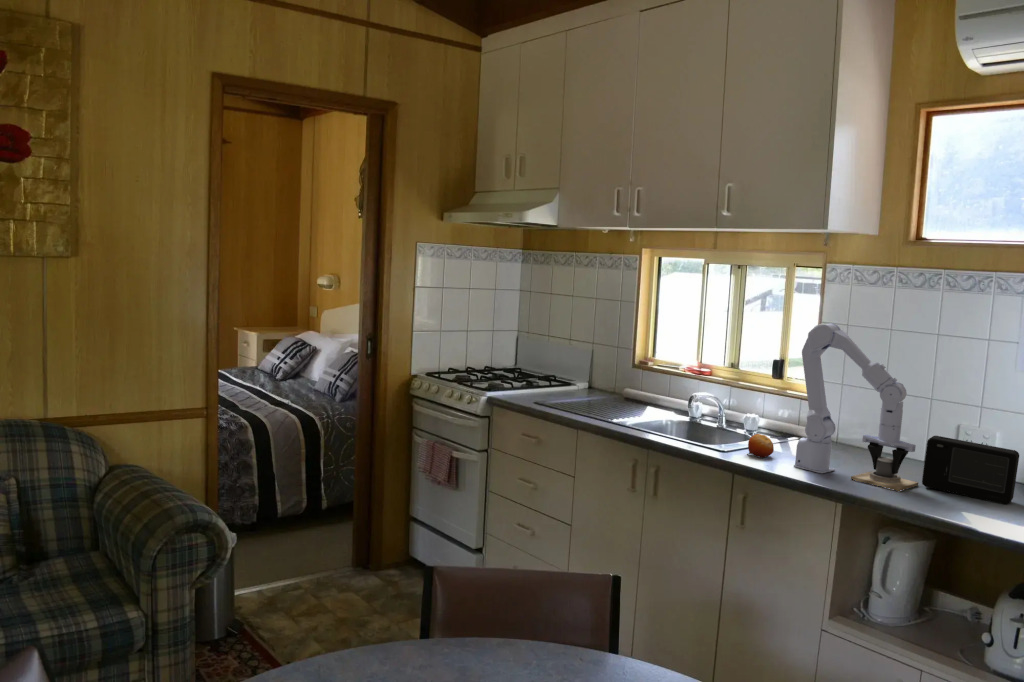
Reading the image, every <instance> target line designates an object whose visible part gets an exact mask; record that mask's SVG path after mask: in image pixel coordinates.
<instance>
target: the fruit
mask: <svg viewBox="0 0 1024 682" xmlns="http://www.w3.org/2000/svg"><path fill="white" fill-rule="evenodd" d="M747 447H748V453H747V454H746V455H747V456H748V455H752V456H754V457H756V458H760V459H764V458H766V457H770V456H772V454H773V453H774V443H773V441H772V440H771V438H769V437H767V435H765V434H761V433H756V434H754V435H751V437H750V438H749V439H748V442H747Z"/></svg>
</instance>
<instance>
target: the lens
mask: <svg viewBox="0 0 1024 682" xmlns="http://www.w3.org/2000/svg"><path fill="white" fill-rule="evenodd" d="M892 467H893V457H889V456H881V457H878V459H877V463H876V470H875V471H876V474H875V475H877V476H882V477H888V478H894V474H892Z"/></svg>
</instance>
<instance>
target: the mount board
mask: <svg viewBox="0 0 1024 682" xmlns="http://www.w3.org/2000/svg"><path fill="white" fill-rule="evenodd" d="M875 474H876V470H872V471H867V472H863V473H859V474H856V475H851V476H850V480H851V479H853V480H852V481H854V480H856V481H855V482H858V481H860V482H859V483H862V482H865V483H864V484H866V483H869V484H868V485H870V484H873V485H872V486H874V485H877V486H876V487H878V486H882V487H886V488H890V489H894V490H897V491H896V492H898V491H900V490H903V489H906V490H908V489H907V488H910V489H912V488H911V487H913V488H915V487H914V486H916V487H919V482H917V481H914V480H909V479H905V478H902V477H901V475H899V474H898V473H897V474H894V478H888V477H882V476H877V475H875ZM882 487H881V488H882ZM886 488H885V489H886ZM890 489H889V490H890ZM894 490H893V491H894ZM903 491H904V490H903ZM900 492H901V491H900Z"/></svg>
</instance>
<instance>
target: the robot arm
mask: <svg viewBox="0 0 1024 682" xmlns="http://www.w3.org/2000/svg"><path fill="white" fill-rule="evenodd" d="M828 348H833V349H838V350H842V351H843V353H845V354H846V355H847V357H849V358H850V359H851V360H852V361H853V362H854V363H855V364H856V365H857V366H858V367H859V368H860V369H861V373H862V374H861V376H862V378H864V379H865V380H866V382H868V383H869V384H870V385H871V387H872V388H873V389H874V390H875V391H877V392H878V393H879V398H880V399H881V408H880V413H879V414H880V416H879V426H878V435H877V436H875V435H870V434H863V435H862V441H861V442H862V443H869V444H868V445H867V449H868V451H869V454H870V456H871V460H872V466H873V471H876V463H877V459H878V457H882V453H883V450H884V447H887V448H893V449H892V458H893V467H892V474H897V475H898V474H899V470H900V468H901V465H902V463H903V461H904V459H905V458H906V456H907V455H908V454H909V452H910V453H914V452H916V444H915V443H914V444H913V443H911V442H910V443H909V442H906V441H902V440H901V432H902V422H903V409H904V399H906V397H907V395H908V394H907V389H906V387H905V386H904V384H903V383H901V382H900V381H898V379H897V378H896V377H893V376H892V375H891V374H890V373H889V372H888V371H887V370H886V369H885V368H886V367H887V366H885V365H884V364H880V363H879V362H876V361H875V362H873V361H871V360H870V359H869V358H868V357H867V354H865V353H864V352H863V351H862V350H861V349H860V347H859V346H858V345H857V344H856V343H855V341H853V339H852V338H850V336H849V335H848V334H847V332H846V331H844V330H843V329H841V327H840V326H838V325H837V324H835V323H831V322H830V323H825V324H823V323H819V324H817V325H815V326H814V327H813V328H812V329H811V330H809V332H808V333H807V338H806V340H805V343H804V345H803V347H802V350H801V355H802V356H801V357H802V365H803V366H802V367H803V372H804V373H803V374H804V381H805V388H806V389H805V390H806V396H807V397H806V398H807V404H808V410H807V411H808V413H807V415H806V425H805V428H804V431H805V435H806V437H801V438H799V440H798V442H797V444H796V451H795V463H794V464H793V467H795V468H798V469H803V470H807V471H810V472H814V473H817V474H825V473H830V472H833V471H836V469H835V468H834V467H830V464H831V455H832V454H831V453H832V445H833V444H832V443H833V439H832V436H833V435H834V434H835V431H836V424H835V422H834V421H833V419H832V416H831V415H832V414H831V411H830V409H828V405H827V396H826V389H825V380H824V373H823V367H822V366H823V364H822V359H821V356H822V355H823V353H825V352H826V350H827V349H828Z"/></svg>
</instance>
